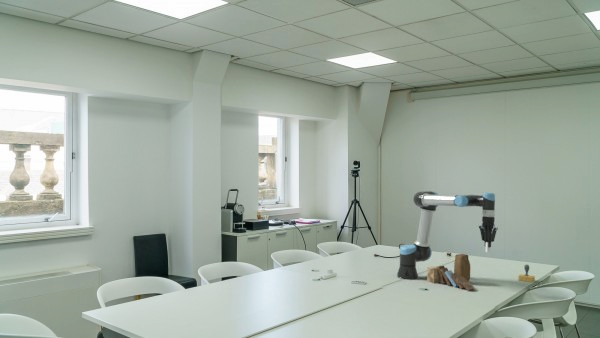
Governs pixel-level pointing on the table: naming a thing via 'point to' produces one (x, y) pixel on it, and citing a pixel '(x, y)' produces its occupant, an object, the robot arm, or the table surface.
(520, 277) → the rubber stamp
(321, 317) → the table surface
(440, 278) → the domino
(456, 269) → the bread loaf
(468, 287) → the domino
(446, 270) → the domino
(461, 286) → the domino
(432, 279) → the end block
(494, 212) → the robot arm
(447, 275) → the domino
